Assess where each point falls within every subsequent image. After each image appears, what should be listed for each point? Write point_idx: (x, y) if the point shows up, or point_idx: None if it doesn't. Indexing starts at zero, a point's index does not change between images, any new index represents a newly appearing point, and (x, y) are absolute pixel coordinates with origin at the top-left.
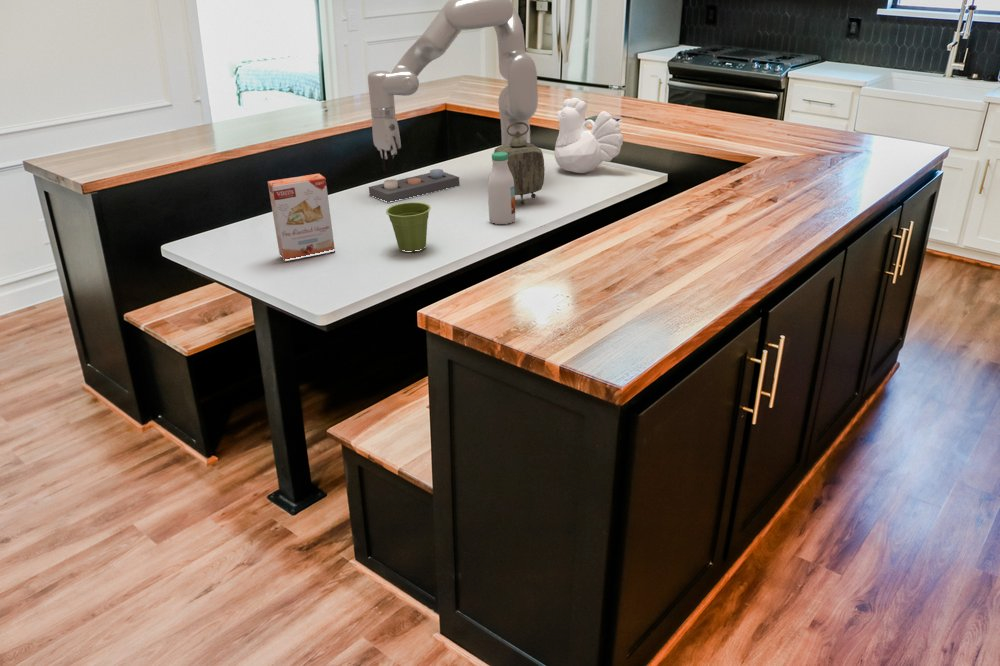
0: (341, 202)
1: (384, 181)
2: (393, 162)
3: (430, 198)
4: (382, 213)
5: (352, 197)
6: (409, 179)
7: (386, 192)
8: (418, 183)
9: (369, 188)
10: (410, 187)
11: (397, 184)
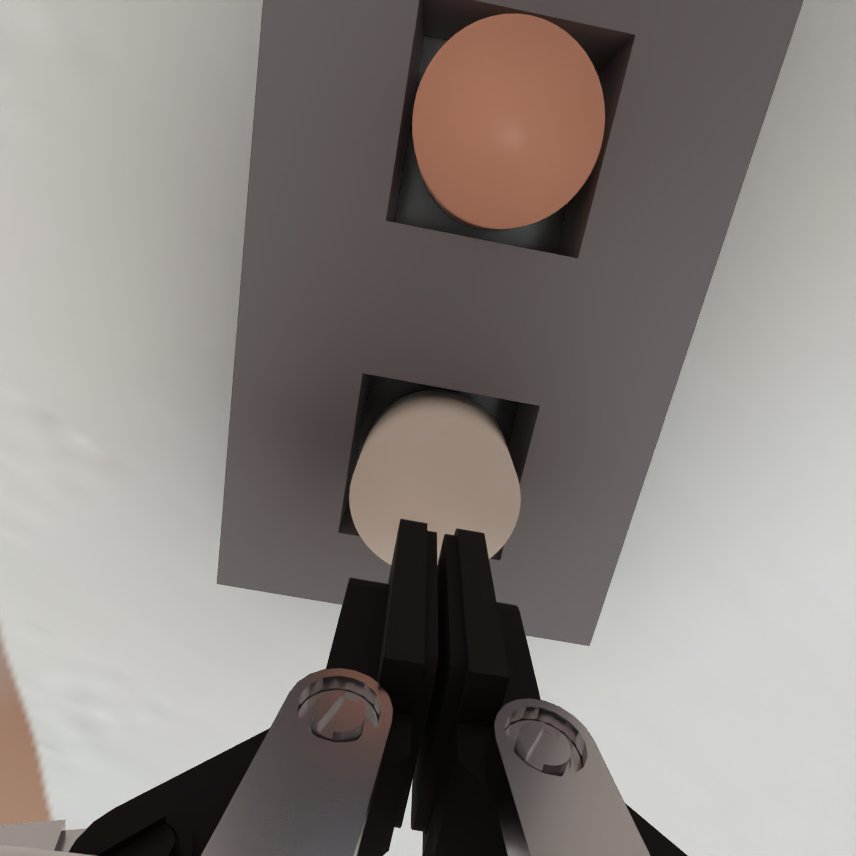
0: (222, 750)
1: (372, 542)
2: (494, 601)
3: (838, 267)
4: (707, 757)
5: (170, 636)
6: (435, 156)
7: (535, 613)
8: (609, 157)
9: (235, 577)
10: (638, 351)
11: (500, 439)
